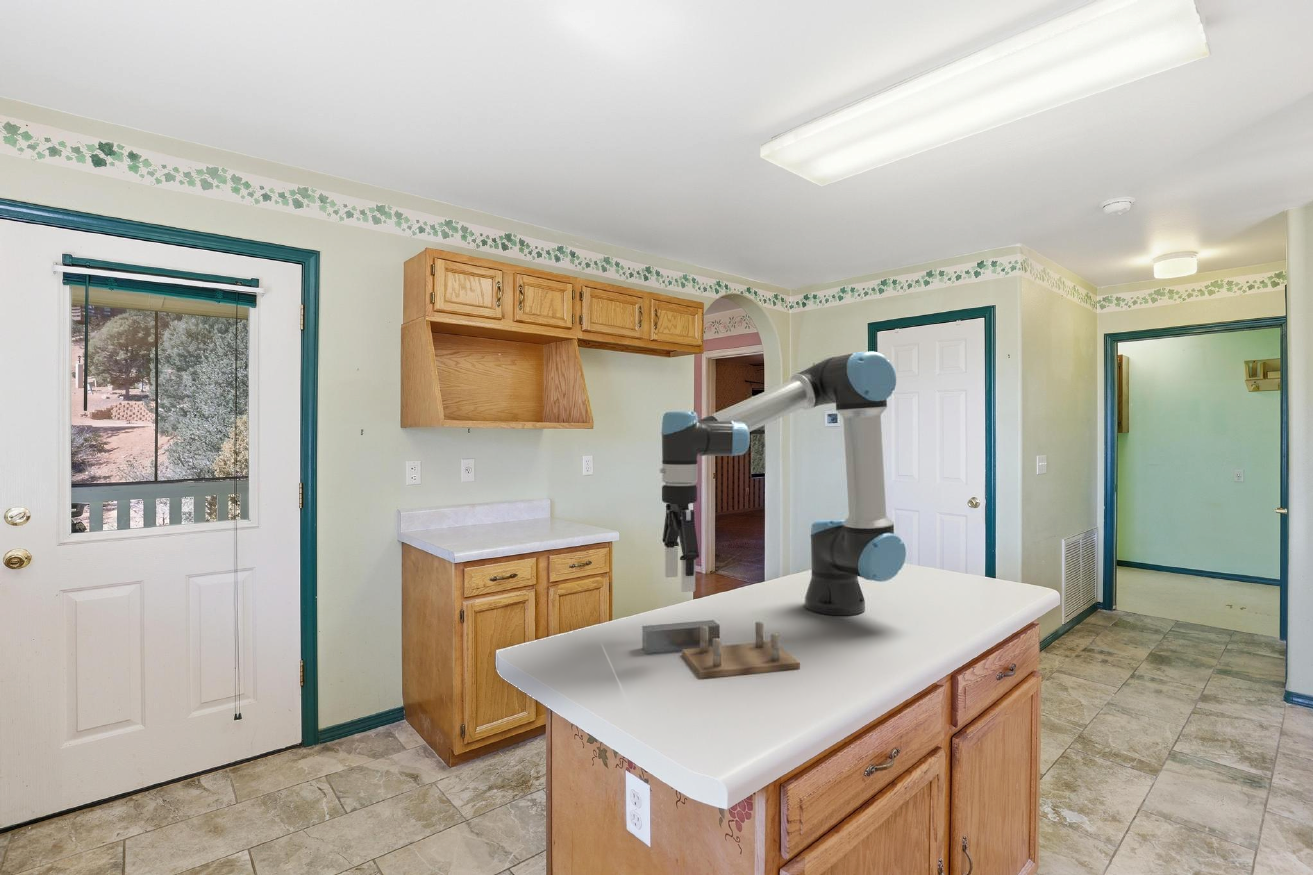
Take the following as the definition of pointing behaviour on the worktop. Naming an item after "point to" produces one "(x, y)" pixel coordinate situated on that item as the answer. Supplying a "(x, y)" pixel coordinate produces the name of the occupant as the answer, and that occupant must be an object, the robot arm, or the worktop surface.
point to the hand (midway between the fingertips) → (679, 583)
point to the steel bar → (677, 636)
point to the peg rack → (738, 656)
